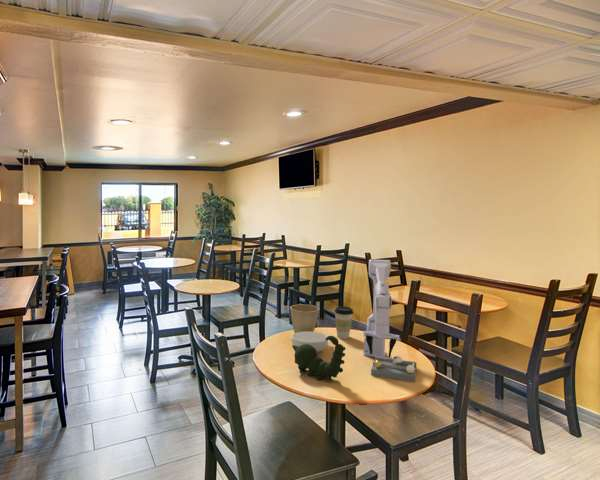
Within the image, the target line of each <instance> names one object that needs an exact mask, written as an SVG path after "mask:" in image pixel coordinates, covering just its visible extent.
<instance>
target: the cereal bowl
mask: <svg viewBox="0 0 600 480" xmlns="http://www.w3.org/2000/svg"><path fill="white" fill-rule="evenodd" d="M328 336H329V335H326V334H325V333H322V332H318V331H314V332H309V331H307V332H298V333H295V332H294V333H293V334H292V335H291V344H292V345H295V346H301V345H303V344H309V345H311V346H313V347H314V348H315V349H316V351H317V353H319V352H321V351H323V350H325V349H326V347H327V346H328V343H329V342H328V341H329V340H325V339H326V337H328Z"/></svg>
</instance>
